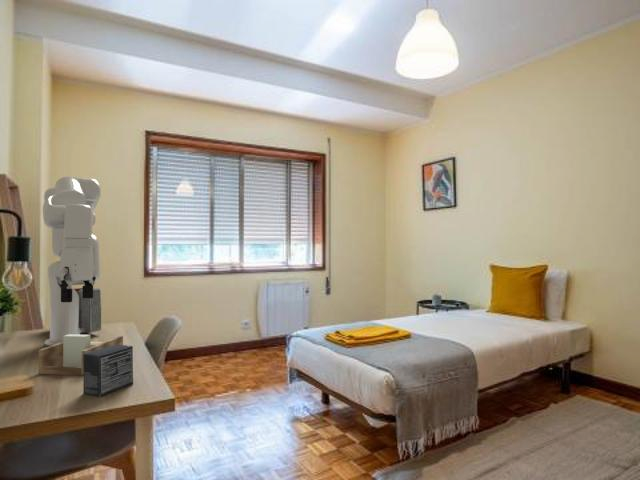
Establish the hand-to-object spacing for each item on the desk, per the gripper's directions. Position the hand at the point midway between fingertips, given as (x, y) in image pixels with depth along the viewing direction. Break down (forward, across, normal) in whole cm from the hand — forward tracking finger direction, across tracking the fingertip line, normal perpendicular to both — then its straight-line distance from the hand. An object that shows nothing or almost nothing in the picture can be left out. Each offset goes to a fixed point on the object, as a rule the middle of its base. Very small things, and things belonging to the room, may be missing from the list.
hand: (77, 300), depth 125 cm
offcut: (+18, -10, 0) cm, 20 cm away
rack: (+21, -4, 0) cm, 21 cm away
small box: (+21, +16, +20) cm, 34 cm away
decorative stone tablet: (+20, -49, -35) cm, 63 cm away
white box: (+21, 0, 0) cm, 21 cm away
